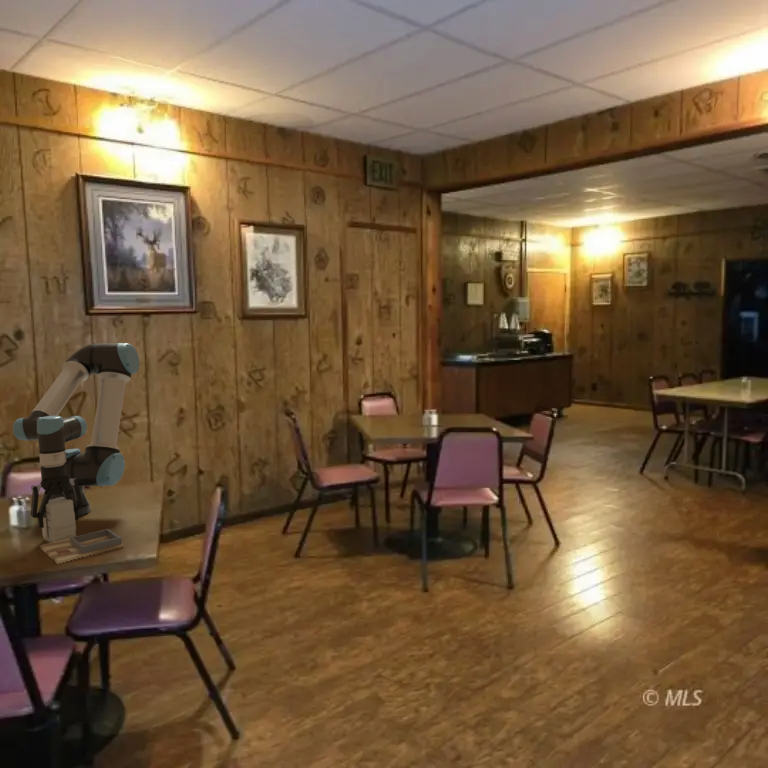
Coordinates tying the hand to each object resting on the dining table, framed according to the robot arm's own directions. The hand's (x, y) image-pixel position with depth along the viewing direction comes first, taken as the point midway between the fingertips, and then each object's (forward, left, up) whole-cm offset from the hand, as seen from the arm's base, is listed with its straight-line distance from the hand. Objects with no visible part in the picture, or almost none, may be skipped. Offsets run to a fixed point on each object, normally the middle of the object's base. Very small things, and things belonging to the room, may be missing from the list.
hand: (59, 533), depth 210 cm
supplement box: (0, 0, -2) cm, 2 cm away
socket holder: (+16, +6, -2) cm, 18 cm away
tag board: (+14, +2, -2) cm, 14 cm away
